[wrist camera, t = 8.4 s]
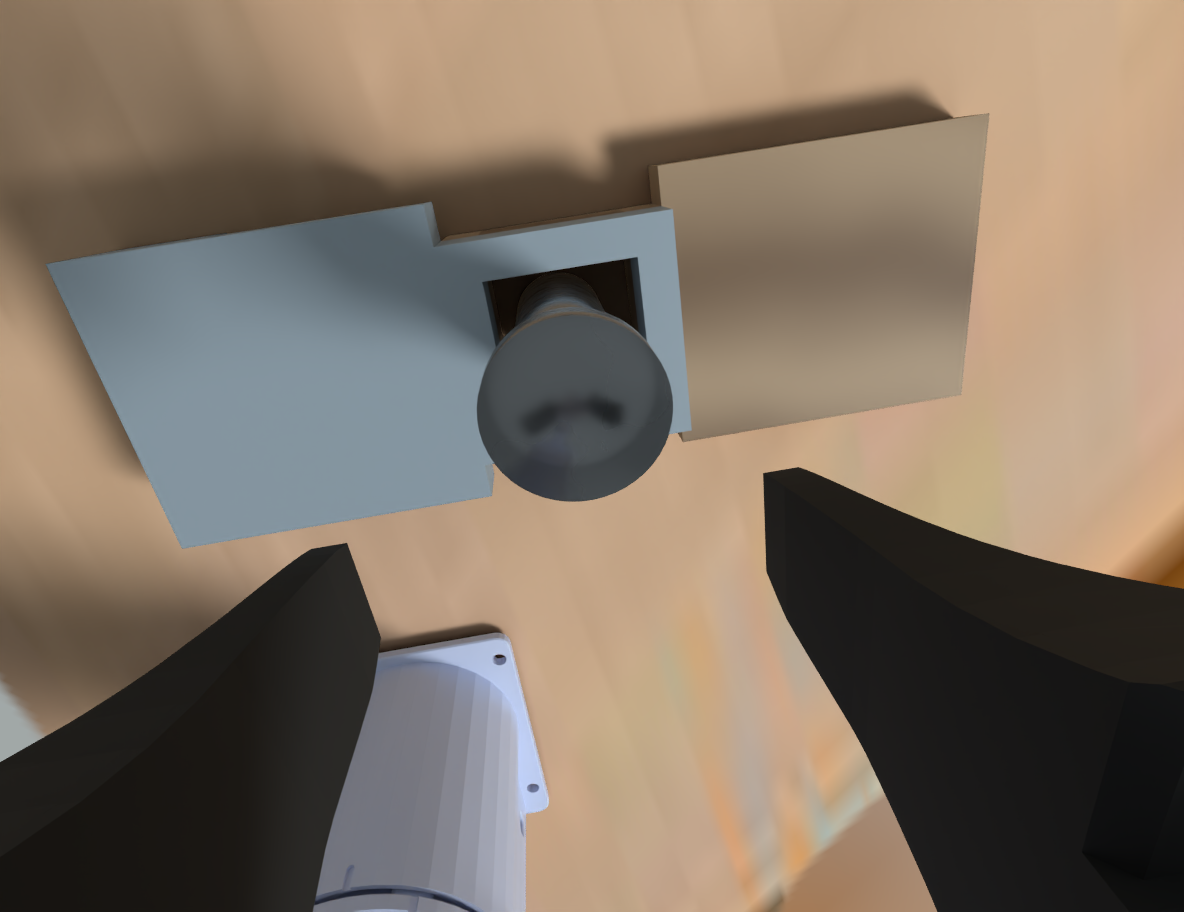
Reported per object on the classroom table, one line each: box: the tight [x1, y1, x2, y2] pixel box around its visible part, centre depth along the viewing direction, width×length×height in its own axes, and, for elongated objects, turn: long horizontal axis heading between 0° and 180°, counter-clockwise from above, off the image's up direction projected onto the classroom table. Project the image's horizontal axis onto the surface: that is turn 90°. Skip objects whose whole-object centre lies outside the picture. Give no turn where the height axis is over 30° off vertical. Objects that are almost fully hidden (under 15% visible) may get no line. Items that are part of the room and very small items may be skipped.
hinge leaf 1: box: [46, 202, 692, 549], centre depth 18 cm, size 8×15×3 cm, turn 98°
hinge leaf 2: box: [442, 113, 989, 442], centre depth 19 cm, size 8×15×2 cm, turn 98°
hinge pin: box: [477, 272, 673, 501], centre depth 16 cm, size 4×4×9 cm
